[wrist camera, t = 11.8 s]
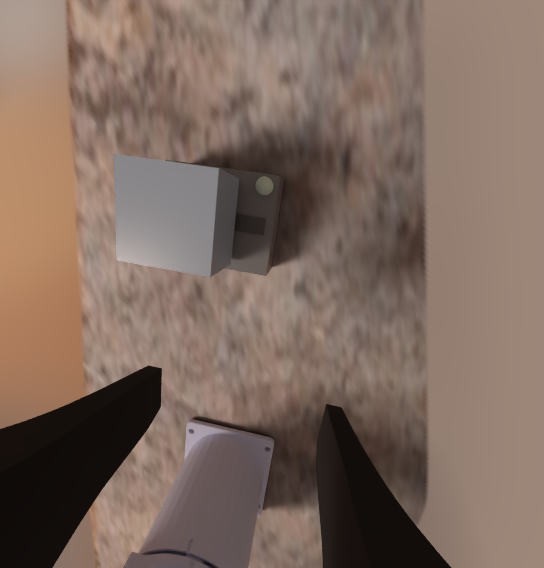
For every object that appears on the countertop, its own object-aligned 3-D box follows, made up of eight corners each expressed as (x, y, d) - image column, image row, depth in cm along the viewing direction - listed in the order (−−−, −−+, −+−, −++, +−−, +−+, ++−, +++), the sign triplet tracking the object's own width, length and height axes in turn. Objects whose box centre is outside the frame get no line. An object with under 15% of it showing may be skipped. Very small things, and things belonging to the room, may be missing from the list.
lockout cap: (230, 263, 16) (210, 277, 13) (155, 250, 16) (116, 260, 13) (239, 178, 15) (218, 167, 11) (157, 167, 15) (113, 153, 12)
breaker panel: (271, 267, 19) (265, 276, 16) (181, 252, 19) (160, 258, 17) (284, 180, 17) (279, 174, 14) (184, 167, 18) (162, 158, 15)
